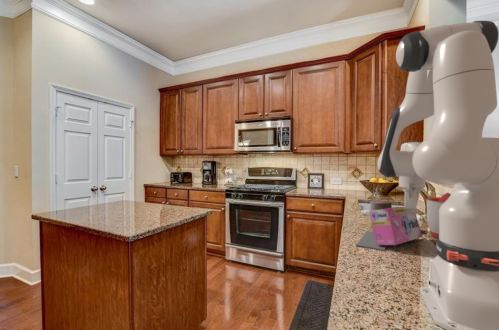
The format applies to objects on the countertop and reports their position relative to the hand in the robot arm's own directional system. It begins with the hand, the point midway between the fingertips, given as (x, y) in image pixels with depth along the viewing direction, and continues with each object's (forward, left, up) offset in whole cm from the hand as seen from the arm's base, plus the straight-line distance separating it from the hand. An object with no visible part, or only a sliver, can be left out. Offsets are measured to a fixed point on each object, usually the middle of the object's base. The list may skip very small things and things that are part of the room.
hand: (411, 216), depth 97 cm
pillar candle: (+23, +14, -12) cm, 29 cm away
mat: (-1, +13, -12) cm, 18 cm away
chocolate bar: (+19, +2, -12) cm, 22 cm away
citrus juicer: (+22, -13, -12) cm, 28 cm away
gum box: (-1, +4, -10) cm, 11 cm away
